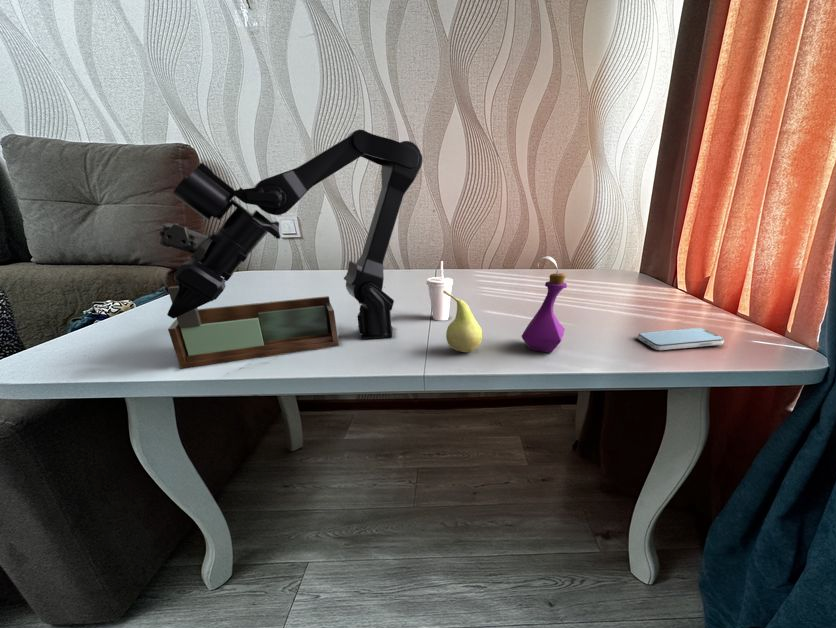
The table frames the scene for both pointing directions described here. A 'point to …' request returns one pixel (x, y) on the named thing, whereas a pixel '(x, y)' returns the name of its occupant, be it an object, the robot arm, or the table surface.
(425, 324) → the table surface
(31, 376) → the table surface
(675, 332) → the smartphone
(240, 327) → the green grey l-shaped block
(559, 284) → the perfume bottle
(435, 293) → the smoothie
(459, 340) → the fruit
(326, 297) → the brown wooden box
